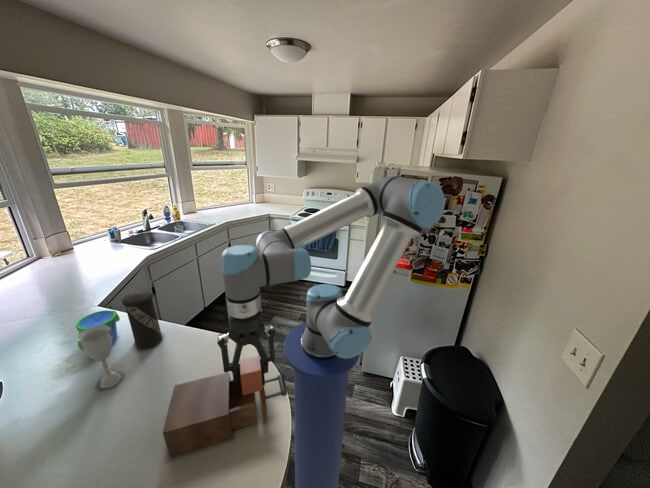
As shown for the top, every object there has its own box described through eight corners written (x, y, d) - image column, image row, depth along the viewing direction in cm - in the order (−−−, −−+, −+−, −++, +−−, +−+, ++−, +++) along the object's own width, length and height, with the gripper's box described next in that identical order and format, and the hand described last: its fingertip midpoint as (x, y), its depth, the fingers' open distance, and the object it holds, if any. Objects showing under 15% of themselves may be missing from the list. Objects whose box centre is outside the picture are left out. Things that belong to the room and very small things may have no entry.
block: (260, 374, 69) (259, 355, 67) (262, 390, 65) (261, 370, 62) (242, 379, 68) (239, 359, 65) (242, 395, 63) (240, 375, 61)
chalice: (88, 391, 72) (68, 341, 66) (107, 371, 79) (90, 324, 73) (114, 390, 73) (97, 341, 66) (131, 371, 79) (116, 325, 73)
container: (142, 353, 86) (128, 304, 79) (130, 343, 90) (115, 295, 84) (168, 338, 93) (157, 292, 86) (155, 329, 97) (144, 285, 90)
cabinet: (232, 394, 73) (229, 372, 70) (232, 438, 62) (228, 414, 59) (179, 407, 69) (174, 384, 66) (169, 457, 58) (162, 433, 55)
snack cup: (99, 359, 83) (90, 335, 79) (68, 357, 83) (58, 333, 80) (134, 328, 98) (128, 306, 94) (108, 327, 98) (101, 305, 94)
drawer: (282, 380, 77) (281, 363, 75) (289, 415, 67) (289, 397, 65) (218, 397, 71) (215, 379, 69) (215, 438, 61) (212, 419, 59)
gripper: (200, 328, 52) (214, 407, 60) (286, 313, 58) (288, 386, 66) (204, 307, 59) (216, 381, 67) (280, 296, 64) (283, 365, 72)
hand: (252, 383), depth 66 cm, fingers closed on block, 5 cm apart
